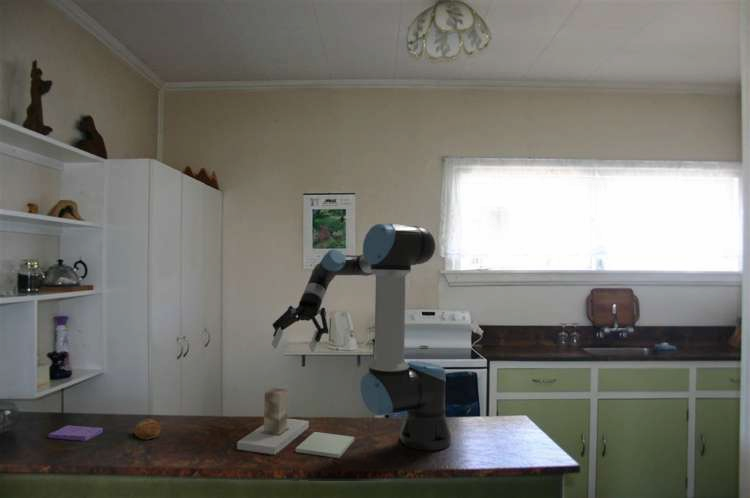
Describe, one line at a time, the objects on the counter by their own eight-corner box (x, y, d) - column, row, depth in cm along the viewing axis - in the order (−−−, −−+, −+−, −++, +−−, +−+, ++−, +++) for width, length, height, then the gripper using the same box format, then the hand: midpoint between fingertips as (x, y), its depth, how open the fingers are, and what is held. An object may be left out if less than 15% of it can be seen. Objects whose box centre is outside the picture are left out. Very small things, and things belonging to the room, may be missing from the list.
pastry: (164, 437, 134) (165, 424, 134) (140, 443, 130) (140, 430, 130) (155, 428, 141) (156, 416, 141) (132, 433, 137) (132, 421, 137)
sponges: (85, 442, 130) (85, 436, 130) (47, 439, 132) (47, 433, 132) (103, 433, 137) (103, 427, 137) (67, 430, 139) (67, 424, 139)
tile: (354, 440, 133) (354, 436, 133) (338, 458, 121) (338, 454, 121) (314, 435, 137) (314, 431, 137) (295, 451, 125) (295, 448, 125)
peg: (286, 435, 136) (287, 389, 137) (278, 441, 132) (279, 394, 132) (271, 433, 138) (273, 388, 138) (263, 439, 133) (264, 392, 134)
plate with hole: (308, 427, 144) (308, 421, 144) (275, 454, 122) (275, 447, 123) (275, 423, 147) (275, 417, 147) (237, 449, 126) (237, 441, 126)
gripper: (346, 306, 160) (330, 357, 145) (284, 303, 167) (262, 351, 152) (342, 293, 155) (324, 343, 140) (278, 290, 162) (254, 338, 147)
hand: (292, 347), depth 146 cm, fingers open, 13 cm apart
